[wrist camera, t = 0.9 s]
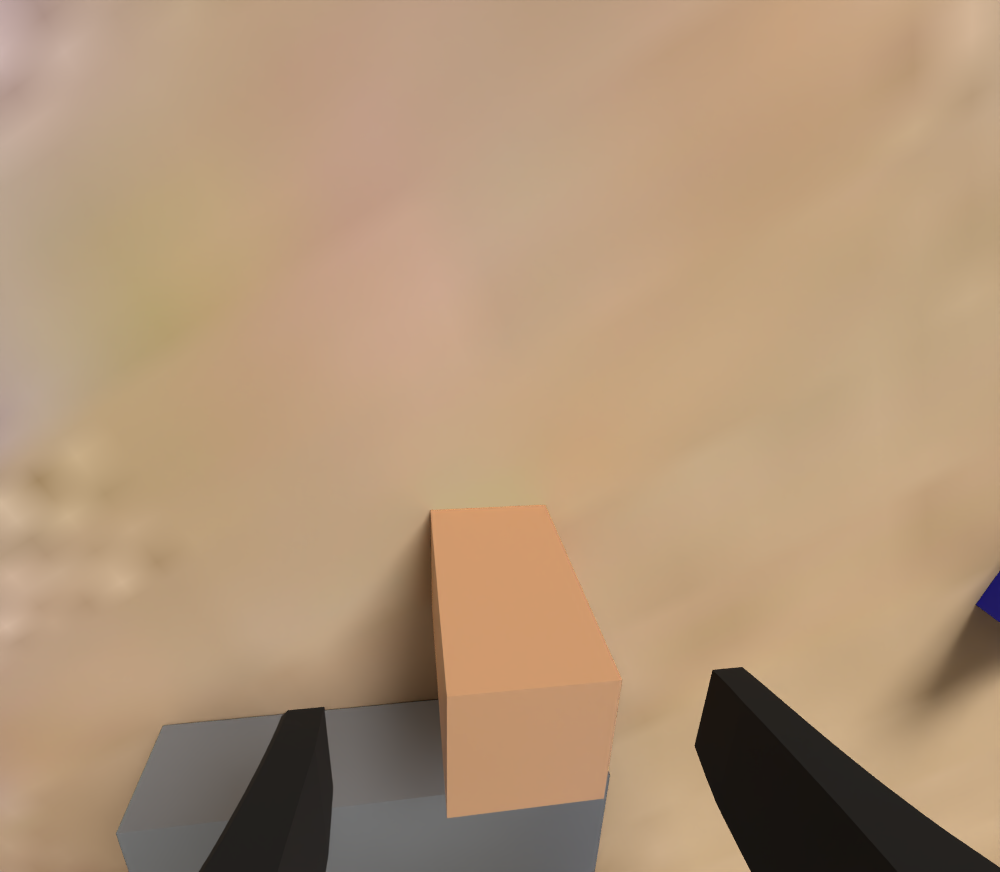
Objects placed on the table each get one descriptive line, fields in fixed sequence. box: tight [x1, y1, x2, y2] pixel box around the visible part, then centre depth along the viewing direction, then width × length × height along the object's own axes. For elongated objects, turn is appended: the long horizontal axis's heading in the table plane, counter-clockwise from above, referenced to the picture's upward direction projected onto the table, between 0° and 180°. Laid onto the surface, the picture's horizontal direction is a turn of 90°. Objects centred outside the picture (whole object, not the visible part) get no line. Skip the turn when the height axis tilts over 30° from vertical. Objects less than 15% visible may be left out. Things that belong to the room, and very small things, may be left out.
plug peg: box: [431, 505, 622, 818], centre depth 13 cm, size 3×3×6 cm
